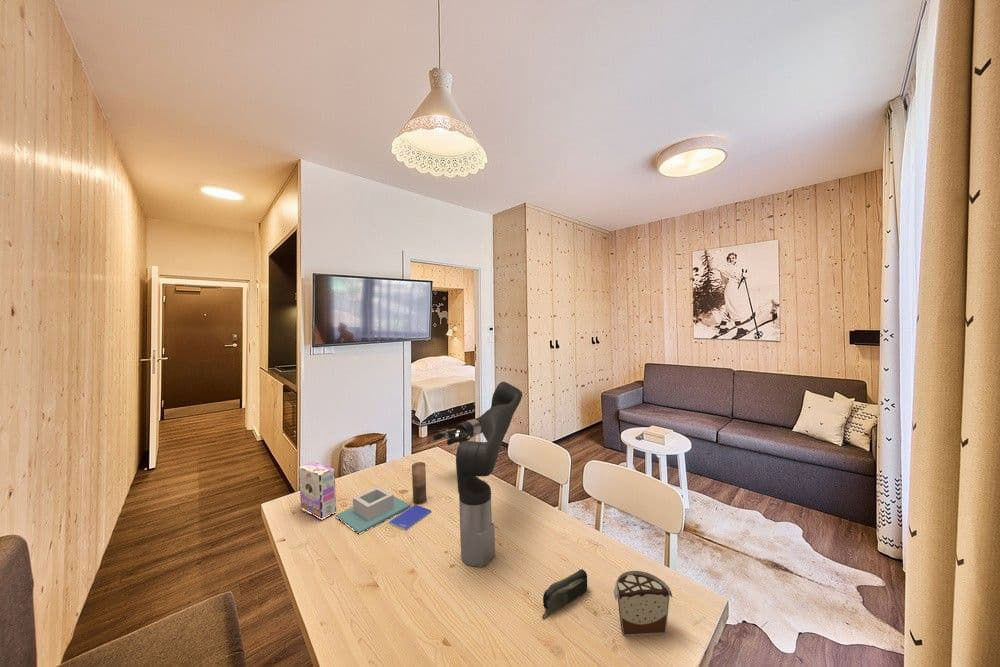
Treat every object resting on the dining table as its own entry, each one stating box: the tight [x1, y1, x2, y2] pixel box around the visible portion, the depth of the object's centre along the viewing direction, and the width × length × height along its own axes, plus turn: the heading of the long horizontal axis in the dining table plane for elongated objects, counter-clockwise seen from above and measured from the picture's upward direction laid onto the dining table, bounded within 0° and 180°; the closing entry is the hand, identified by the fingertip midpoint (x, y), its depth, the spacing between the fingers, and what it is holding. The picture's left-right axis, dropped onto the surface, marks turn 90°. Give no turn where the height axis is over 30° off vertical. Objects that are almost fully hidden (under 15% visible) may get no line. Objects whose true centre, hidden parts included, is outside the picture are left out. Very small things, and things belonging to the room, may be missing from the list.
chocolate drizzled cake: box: [613, 570, 673, 637], centre depth 76 cm, size 12×6×10 cm, turn 92°
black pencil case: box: [541, 568, 588, 619], centre depth 82 cm, size 5×3×15 cm
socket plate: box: [335, 486, 412, 533], centre depth 122 cm, size 16×20×6 cm
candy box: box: [298, 461, 337, 518], centre depth 123 cm, size 14×6×16 cm, turn 58°
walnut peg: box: [411, 461, 427, 505], centre depth 129 cm, size 5×5×14 cm
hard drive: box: [388, 504, 433, 532], centre depth 118 cm, size 2×8×12 cm
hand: (440, 440), depth 137 cm, fingers open, 8 cm apart
